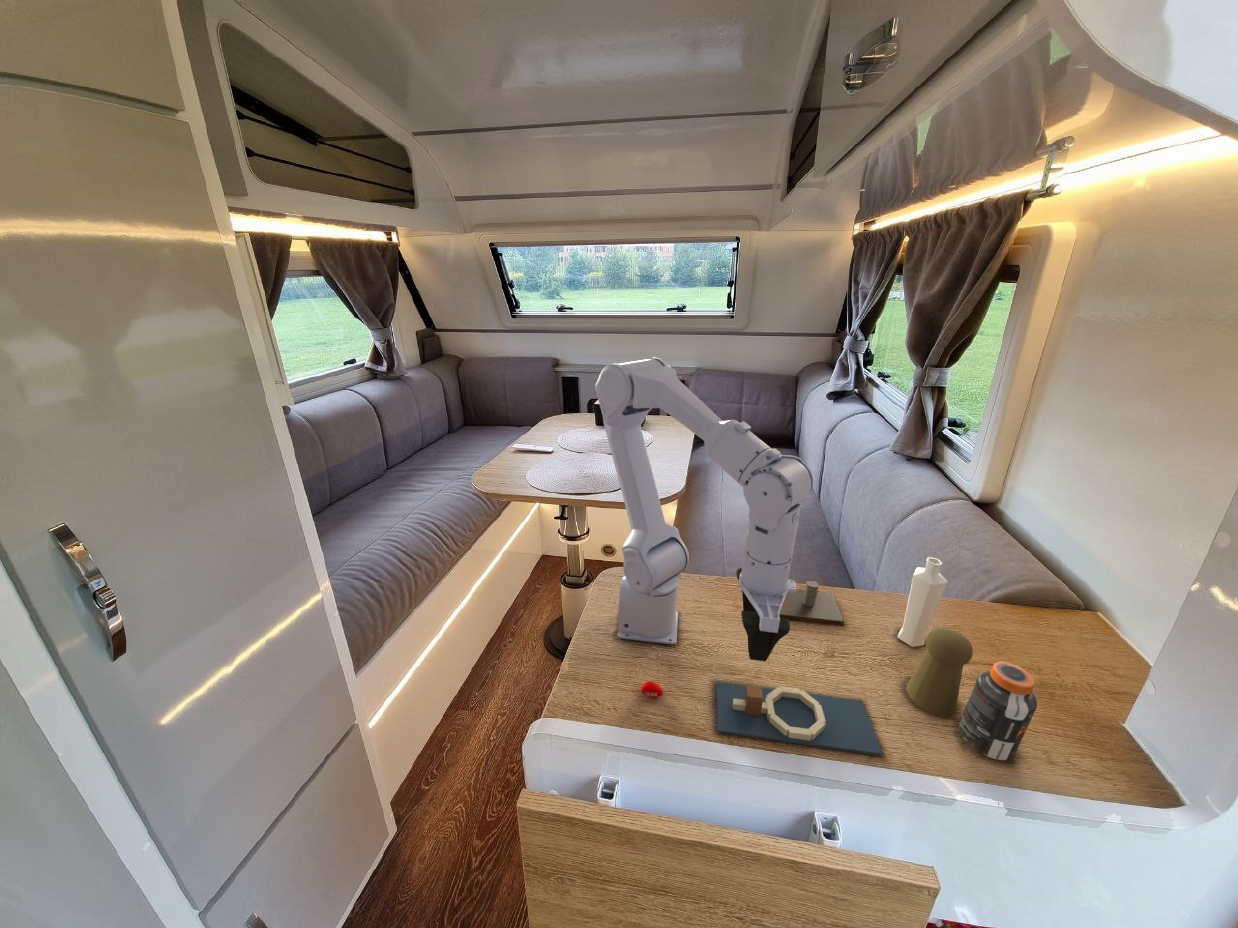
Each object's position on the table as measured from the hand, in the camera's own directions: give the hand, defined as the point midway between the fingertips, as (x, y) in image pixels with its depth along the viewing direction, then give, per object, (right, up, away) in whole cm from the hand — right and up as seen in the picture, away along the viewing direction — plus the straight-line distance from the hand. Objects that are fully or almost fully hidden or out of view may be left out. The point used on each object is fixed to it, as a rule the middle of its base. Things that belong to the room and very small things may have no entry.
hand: (754, 637), depth 64 cm
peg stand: (+14, -2, +21) cm, 25 cm away
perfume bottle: (+29, -5, +13) cm, 33 cm away
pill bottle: (+29, -12, -3) cm, 31 cm away
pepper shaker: (+26, -10, +3) cm, 28 cm away
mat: (+5, -10, -1) cm, 12 cm away
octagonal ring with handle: (+3, -10, -1) cm, 10 cm away
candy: (-14, -9, +2) cm, 17 cm away
